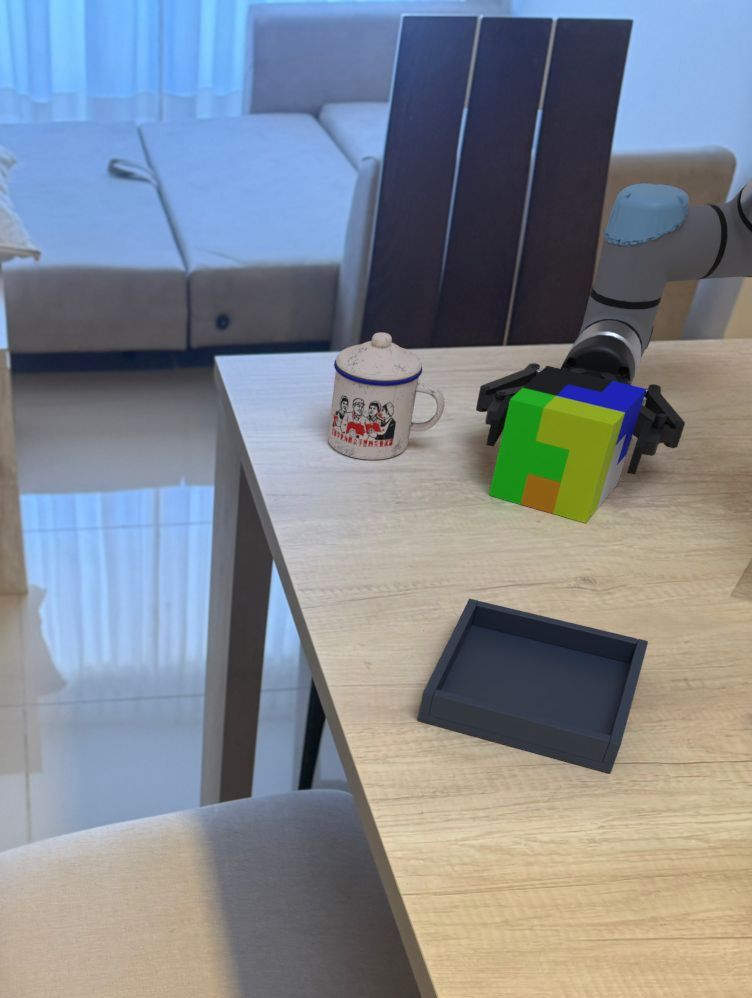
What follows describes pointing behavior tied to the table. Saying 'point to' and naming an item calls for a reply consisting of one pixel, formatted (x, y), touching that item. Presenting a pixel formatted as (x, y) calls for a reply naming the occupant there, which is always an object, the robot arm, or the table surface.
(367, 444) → the teacup with lid
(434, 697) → the dark gray tray
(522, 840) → the table surface
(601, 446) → the puzzle toy
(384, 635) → the table surface
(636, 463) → the robot arm
